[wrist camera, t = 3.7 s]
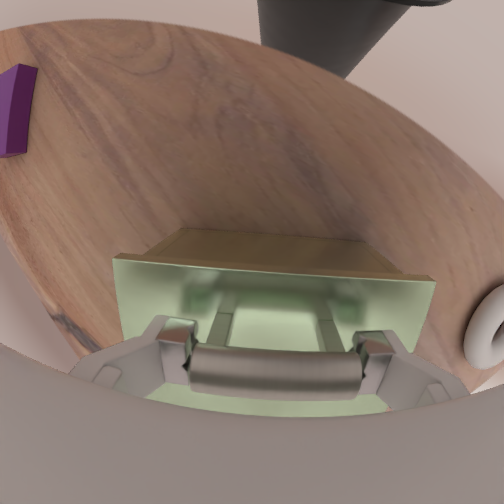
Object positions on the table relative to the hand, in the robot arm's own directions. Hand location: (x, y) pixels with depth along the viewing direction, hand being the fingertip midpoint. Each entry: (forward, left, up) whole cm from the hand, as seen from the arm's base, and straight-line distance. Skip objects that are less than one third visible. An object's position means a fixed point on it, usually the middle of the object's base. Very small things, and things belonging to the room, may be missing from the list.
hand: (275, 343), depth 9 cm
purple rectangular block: (+8, -28, -11) cm, 31 cm away
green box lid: (+5, +4, -2) cm, 6 cm away
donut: (-12, +22, -11) cm, 28 cm away
